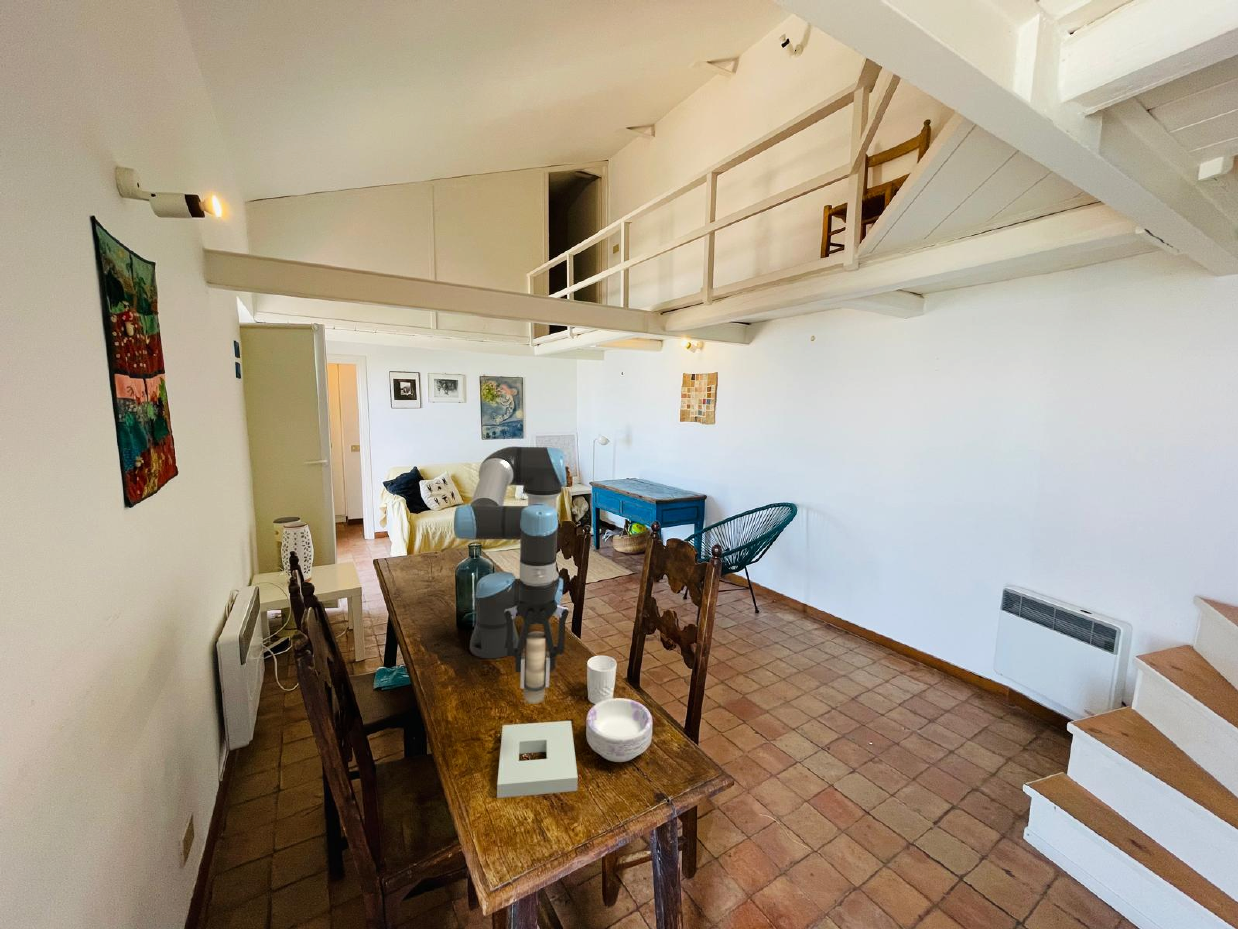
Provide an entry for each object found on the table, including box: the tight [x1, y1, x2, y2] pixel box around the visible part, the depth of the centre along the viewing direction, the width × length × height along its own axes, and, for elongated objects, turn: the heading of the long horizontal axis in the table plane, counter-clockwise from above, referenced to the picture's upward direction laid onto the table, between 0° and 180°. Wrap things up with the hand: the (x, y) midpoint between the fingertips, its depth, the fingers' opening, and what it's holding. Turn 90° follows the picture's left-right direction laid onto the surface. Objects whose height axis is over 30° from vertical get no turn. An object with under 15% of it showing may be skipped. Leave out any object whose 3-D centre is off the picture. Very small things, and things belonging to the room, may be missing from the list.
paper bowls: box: [585, 697, 653, 763], centre depth 114 cm, size 15×15×8 cm
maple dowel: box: [523, 630, 547, 705], centre depth 105 cm, size 5×5×14 cm
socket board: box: [496, 720, 578, 799], centre depth 108 cm, size 18×16×3 cm
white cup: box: [586, 655, 618, 705], centre depth 132 cm, size 8×8×10 cm
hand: (534, 684), depth 106 cm, fingers closed on maple dowel, 4 cm apart
